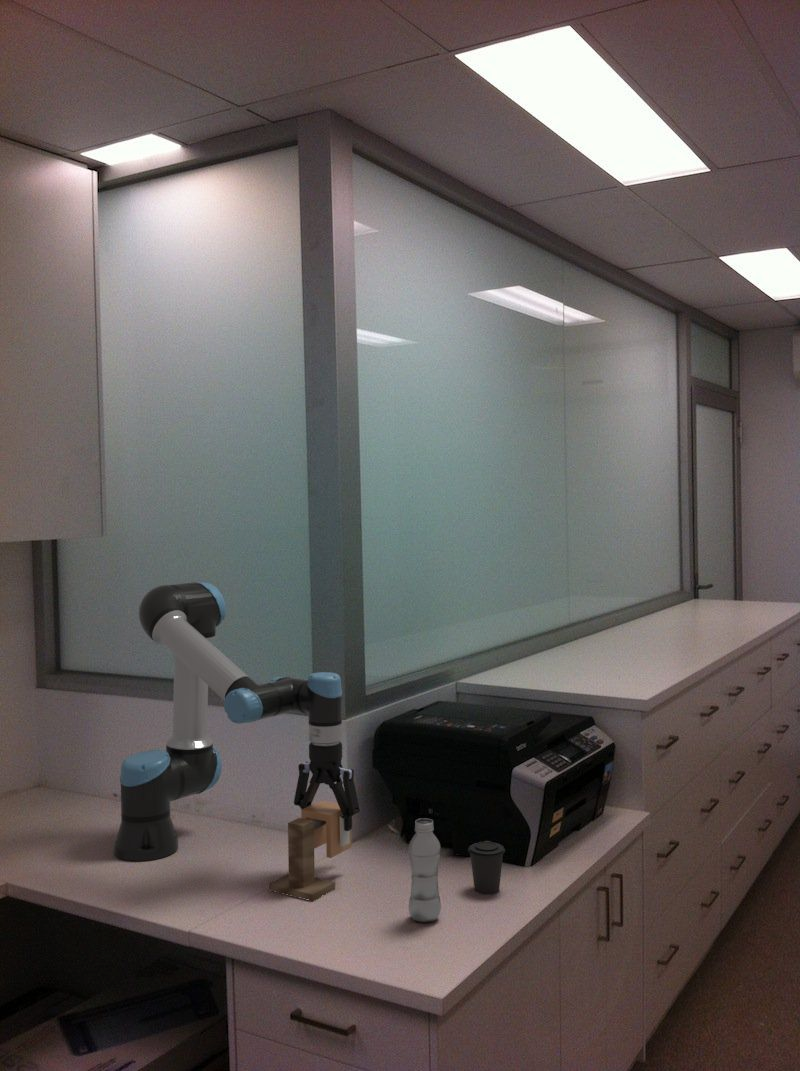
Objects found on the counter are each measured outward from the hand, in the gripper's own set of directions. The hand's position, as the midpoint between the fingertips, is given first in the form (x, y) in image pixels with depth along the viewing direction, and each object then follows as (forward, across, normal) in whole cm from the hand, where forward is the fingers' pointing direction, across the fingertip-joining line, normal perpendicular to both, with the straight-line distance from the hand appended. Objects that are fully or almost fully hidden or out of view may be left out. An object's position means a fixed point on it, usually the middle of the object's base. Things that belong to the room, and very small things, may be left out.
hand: (326, 840), depth 225 cm
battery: (+8, +20, +30) cm, 37 cm away
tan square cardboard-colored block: (+2, 0, 0) cm, 2 cm away
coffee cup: (+8, +35, +10) cm, 37 cm away
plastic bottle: (+8, +31, -10) cm, 33 cm away
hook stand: (+8, 0, -2) cm, 8 cm away
